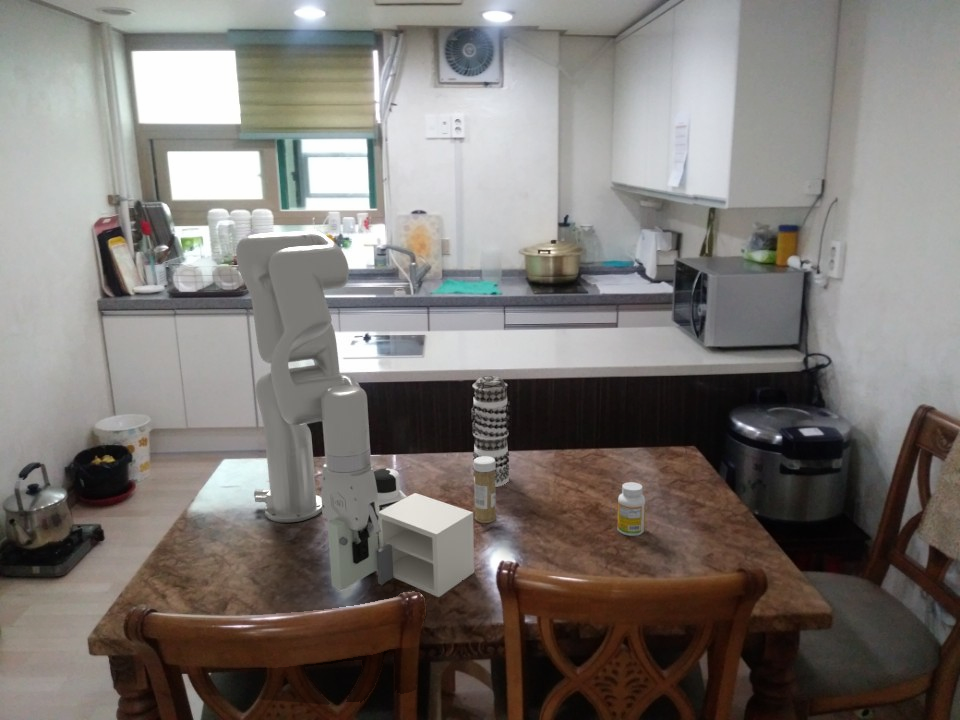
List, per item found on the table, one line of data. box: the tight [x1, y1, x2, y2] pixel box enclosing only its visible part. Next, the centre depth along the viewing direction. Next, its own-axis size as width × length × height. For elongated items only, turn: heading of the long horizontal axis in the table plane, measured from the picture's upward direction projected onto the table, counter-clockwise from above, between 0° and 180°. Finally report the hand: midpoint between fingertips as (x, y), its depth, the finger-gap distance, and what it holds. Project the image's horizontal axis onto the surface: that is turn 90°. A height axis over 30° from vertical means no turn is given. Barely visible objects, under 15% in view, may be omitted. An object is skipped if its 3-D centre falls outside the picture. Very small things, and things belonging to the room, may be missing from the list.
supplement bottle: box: [616, 481, 646, 537], centre depth 147 cm, size 5×5×10 cm
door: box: [327, 519, 379, 591], centre depth 126 cm, size 3×9×12 cm, turn 143°
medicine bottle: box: [373, 468, 408, 537], centre depth 150 cm, size 7×7×12 cm
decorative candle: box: [470, 375, 511, 488], centre depth 170 cm, size 9×9×25 cm
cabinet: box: [377, 492, 475, 598], centre depth 132 cm, size 16×13×12 cm
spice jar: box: [473, 456, 497, 524], centre depth 152 cm, size 5×5×13 cm
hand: (354, 556), depth 127 cm, fingers closed on door, 2 cm apart
